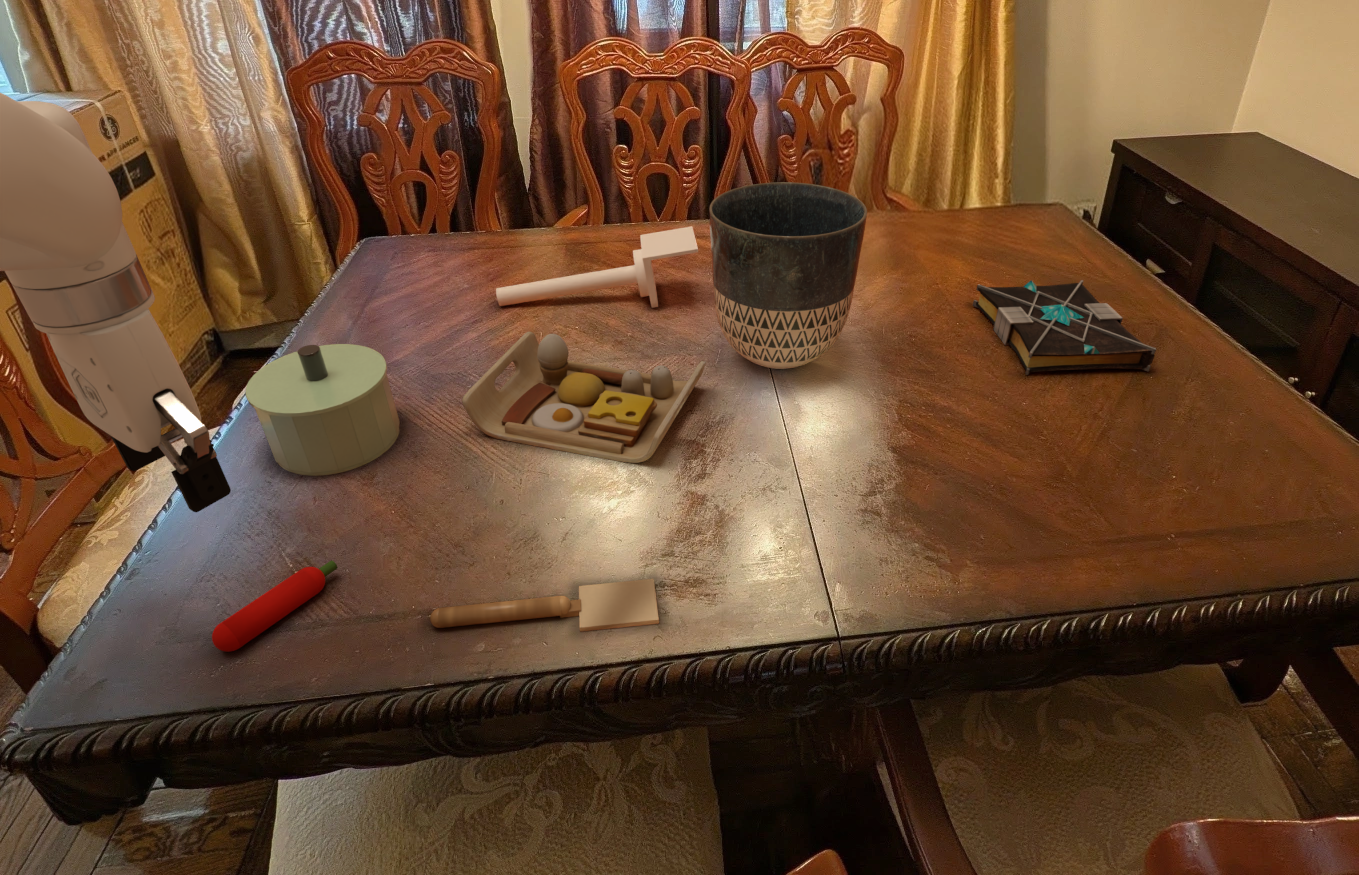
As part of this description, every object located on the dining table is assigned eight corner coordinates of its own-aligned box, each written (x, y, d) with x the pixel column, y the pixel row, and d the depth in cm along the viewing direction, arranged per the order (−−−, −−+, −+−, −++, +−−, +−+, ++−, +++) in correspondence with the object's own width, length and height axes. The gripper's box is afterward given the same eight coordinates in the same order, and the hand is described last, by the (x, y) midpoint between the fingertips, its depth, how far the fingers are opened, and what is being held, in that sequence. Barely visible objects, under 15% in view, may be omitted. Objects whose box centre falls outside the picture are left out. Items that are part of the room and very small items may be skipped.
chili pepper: (229, 663, 71) (217, 642, 69) (212, 649, 72) (200, 628, 70) (347, 580, 79) (339, 559, 77) (329, 568, 80) (321, 548, 78)
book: (1150, 372, 107) (1162, 339, 104) (1024, 377, 106) (1033, 344, 104) (1077, 300, 124) (1086, 270, 122) (970, 304, 124) (976, 274, 121)
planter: (686, 376, 108) (684, 223, 96) (738, 315, 123) (742, 175, 110) (826, 407, 102) (843, 246, 89) (864, 338, 116) (883, 192, 103)
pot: (322, 491, 90) (299, 429, 85) (249, 448, 97) (224, 389, 92) (424, 429, 99) (409, 370, 94) (351, 394, 106) (334, 337, 101)
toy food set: (467, 434, 98) (456, 381, 94) (534, 362, 112) (526, 313, 108) (662, 470, 92) (660, 415, 87) (707, 389, 106) (707, 338, 101)
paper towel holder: (697, 248, 119) (487, 284, 120) (705, 301, 125) (503, 335, 125) (692, 226, 127) (494, 259, 128) (699, 276, 132) (508, 308, 133)
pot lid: (300, 437, 85) (286, 401, 82) (221, 394, 92) (207, 359, 89) (415, 374, 95) (407, 340, 92) (336, 340, 102) (326, 307, 100)
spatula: (428, 647, 72) (424, 634, 70) (436, 604, 76) (432, 591, 75) (659, 623, 73) (658, 610, 72) (653, 582, 77) (653, 569, 76)
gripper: (-24, 283, 58) (82, 470, 68) (89, 345, 50) (191, 546, 60) (85, 249, 63) (169, 428, 73) (204, 300, 55) (281, 493, 65)
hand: (179, 481), depth 67 cm, fingers open, 9 cm apart
